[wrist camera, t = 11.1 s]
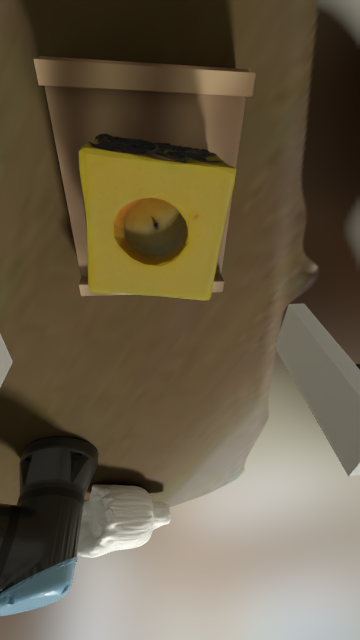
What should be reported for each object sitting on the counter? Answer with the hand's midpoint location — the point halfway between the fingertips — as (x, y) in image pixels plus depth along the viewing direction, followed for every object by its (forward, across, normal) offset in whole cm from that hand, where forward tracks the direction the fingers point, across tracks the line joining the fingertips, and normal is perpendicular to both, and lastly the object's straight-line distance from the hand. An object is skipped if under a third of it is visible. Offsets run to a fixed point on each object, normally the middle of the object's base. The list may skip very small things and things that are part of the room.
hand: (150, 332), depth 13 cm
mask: (+24, -7, -72) cm, 76 cm away
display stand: (+23, +1, +1) cm, 23 cm away
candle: (+19, +1, +1) cm, 19 cm away
